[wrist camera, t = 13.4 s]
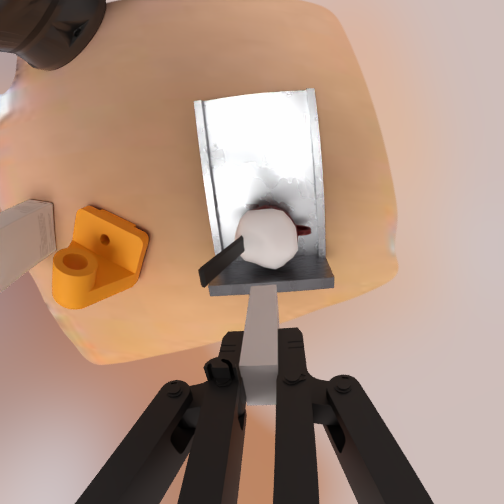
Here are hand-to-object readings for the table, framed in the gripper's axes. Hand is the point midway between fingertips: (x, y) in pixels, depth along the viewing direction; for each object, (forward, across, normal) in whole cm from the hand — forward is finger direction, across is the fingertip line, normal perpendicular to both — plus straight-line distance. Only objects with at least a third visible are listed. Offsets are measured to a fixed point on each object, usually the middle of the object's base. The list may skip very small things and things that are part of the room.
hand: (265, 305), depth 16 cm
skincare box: (+17, -35, +4) cm, 39 cm away
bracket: (+17, -21, 0) cm, 27 cm away
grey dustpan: (+17, 0, +5) cm, 18 cm away
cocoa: (+16, 0, 0) cm, 16 cm away
